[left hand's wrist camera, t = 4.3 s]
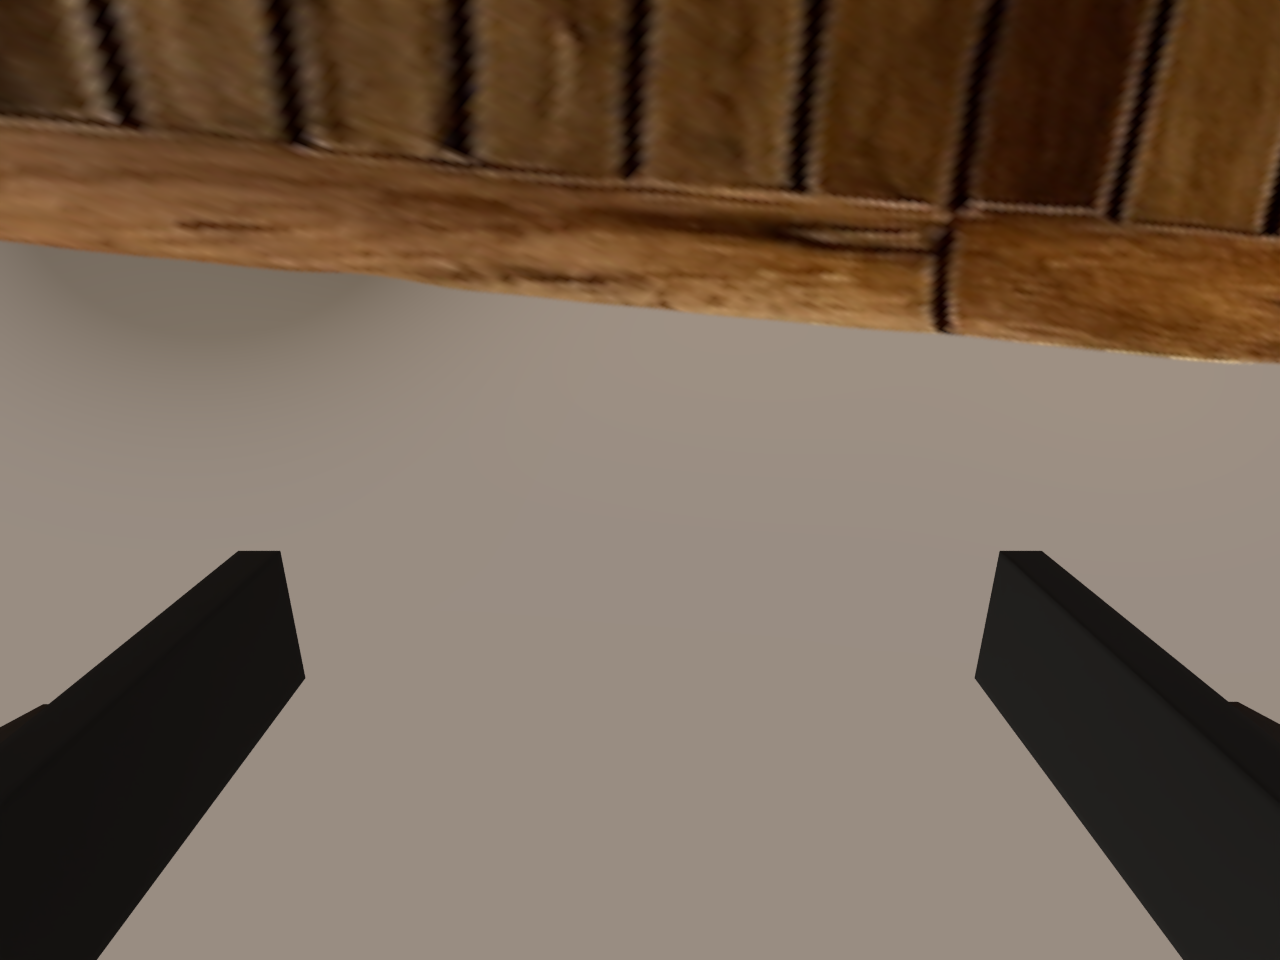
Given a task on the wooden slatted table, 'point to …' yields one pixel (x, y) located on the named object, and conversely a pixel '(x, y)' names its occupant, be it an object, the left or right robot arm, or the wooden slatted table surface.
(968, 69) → the wooden slatted table surface
